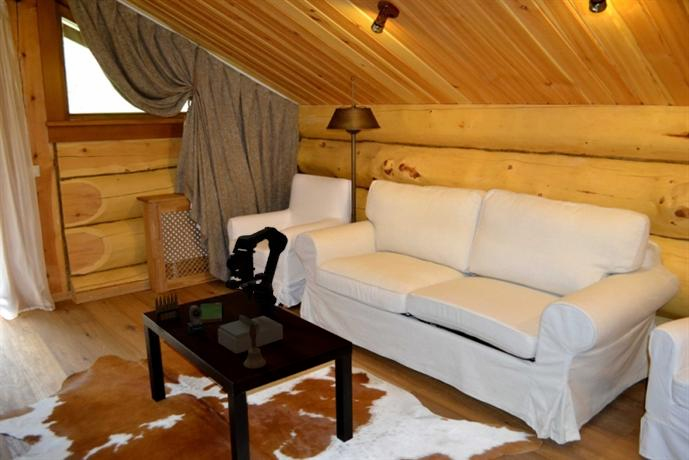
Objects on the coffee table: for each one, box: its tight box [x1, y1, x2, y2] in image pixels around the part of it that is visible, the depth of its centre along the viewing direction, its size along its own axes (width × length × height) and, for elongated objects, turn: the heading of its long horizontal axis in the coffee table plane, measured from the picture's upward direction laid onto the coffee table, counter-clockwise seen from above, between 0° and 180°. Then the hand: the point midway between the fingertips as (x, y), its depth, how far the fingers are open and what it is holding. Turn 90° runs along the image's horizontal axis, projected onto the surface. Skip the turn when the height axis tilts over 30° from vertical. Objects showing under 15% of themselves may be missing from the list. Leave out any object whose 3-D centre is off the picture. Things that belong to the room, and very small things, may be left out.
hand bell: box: [243, 323, 267, 370], centre depth 214 cm, size 8×8×16 cm
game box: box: [199, 302, 223, 324], centre depth 265 cm, size 3×10×20 cm
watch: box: [186, 305, 205, 334], centre depth 245 cm, size 6×8×11 cm
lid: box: [219, 314, 259, 338], centre depth 231 cm, size 10×13×3 cm
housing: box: [217, 316, 284, 354], centre depth 235 cm, size 22×14×6 cm, turn 131°
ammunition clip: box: [154, 293, 181, 325], centre depth 257 cm, size 11×2×12 cm, turn 129°
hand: (248, 299), depth 248 cm, fingers closed
